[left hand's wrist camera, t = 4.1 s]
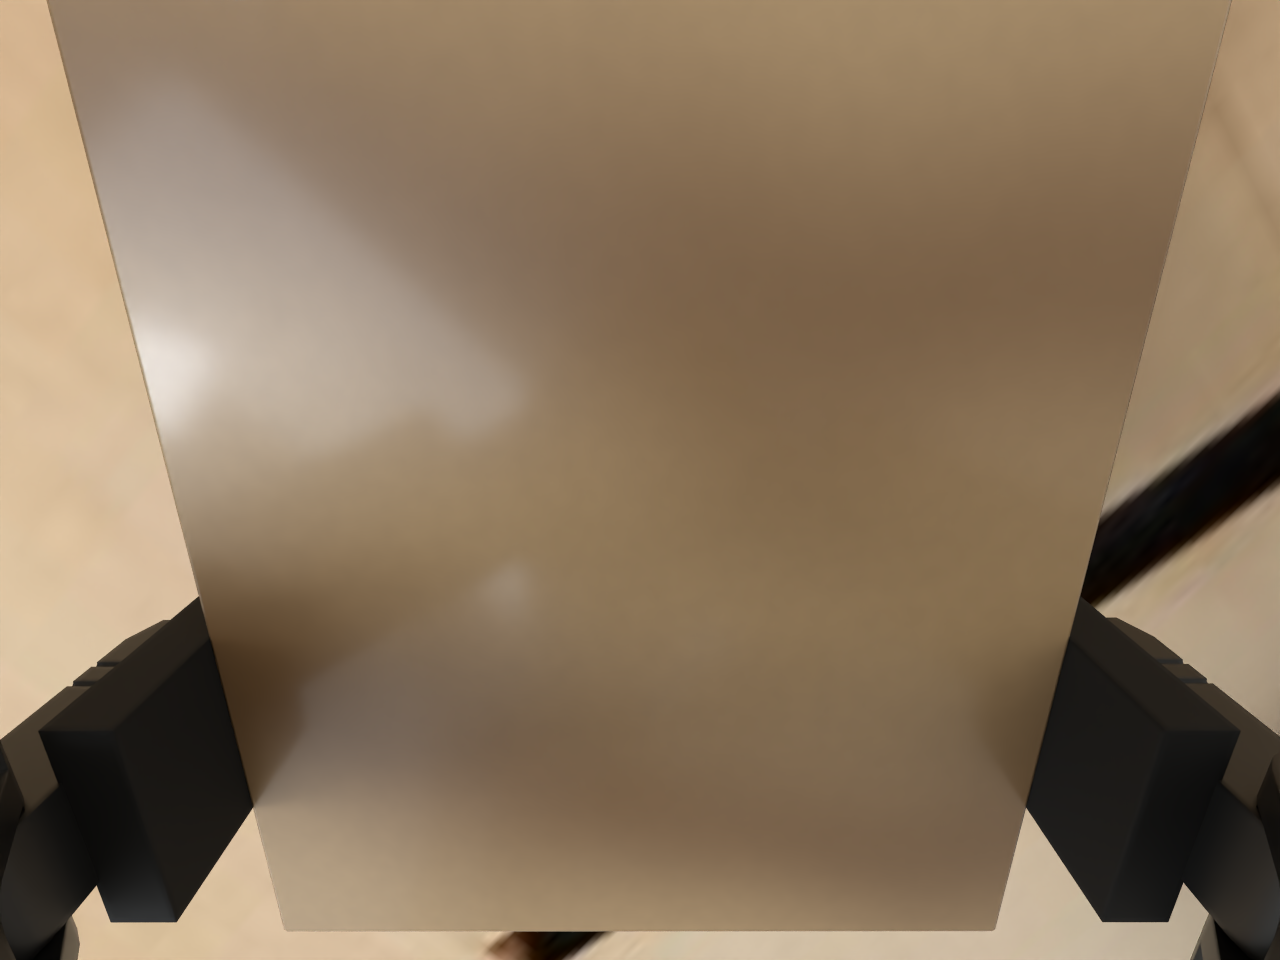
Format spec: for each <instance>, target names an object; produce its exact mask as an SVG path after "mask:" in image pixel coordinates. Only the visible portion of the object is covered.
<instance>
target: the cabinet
mask: <svg viewBox="0 0 1280 960" xmlns="http://www.w3.org/2000/svg"><path fill="white" fill-rule="evenodd" d="M1231 1H1232V0H47V4H48V8H49V11H50V15H51V19H52V23H53V27H54V31H55V35H56V39H57V43H58V47H59V51H60V54H61V58H62V62H63V66H64V70H65V74H66V78H67V82H68V86H69V90H70V94H71V97H72V101H73V105H74V109H75V113H76V117H77V121H78V125H79V129H80V133H81V137H82V140H83V144H84V148H85V152H86V156H87V160H88V164H89V168H90V172H91V176H92V180H93V183H94V187H95V191H96V195H97V199H98V203H99V207H100V211H101V215H102V219H103V223H104V226H105V230H106V234H107V238H108V242H109V246H110V250H111V254H112V258H113V262H114V266H115V270H116V273H117V277H118V281H119V285H120V289H121V293H122V297H123V301H124V305H125V309H126V313H127V316H128V320H129V324H130V328H131V332H132V336H133V340H134V344H135V348H136V352H137V356H138V359H139V363H140V367H141V371H142V375H143V379H144V383H145V387H146V391H147V395H148V399H149V402H150V406H151V410H152V414H153V418H154V422H155V426H156V430H157V434H158V438H159V442H160V445H161V449H162V453H163V457H164V461H165V465H166V469H167V473H168V477H169V481H170V485H171V488H172V492H173V496H174V500H175V504H176V508H177V512H178V516H179V520H180V524H181V528H182V531H183V535H184V539H185V543H186V547H187V551H188V555H189V559H190V563H191V567H192V571H193V574H194V578H195V582H196V586H197V590H198V594H199V598H200V602H201V606H202V610H203V614H204V617H205V621H206V625H207V629H208V633H209V637H210V641H211V645H212V649H213V653H214V657H215V660H216V664H217V668H218V672H219V676H220V680H221V684H222V688H223V692H224V696H225V700H226V704H227V707H228V711H229V715H230V719H231V723H232V727H233V731H234V735H235V739H236V743H237V747H238V750H239V754H240V758H241V762H242V766H243V770H244V774H245V778H246V782H247V786H248V790H249V793H250V797H251V801H252V805H253V809H254V813H255V817H256V821H257V825H258V829H259V833H260V836H261V840H262V844H263V848H264V852H265V856H266V860H267V864H268V868H269V872H270V876H271V879H272V883H273V887H274V891H275V895H276V899H277V903H278V907H279V911H280V915H281V919H282V922H283V926H284V930H286V931H993V930H994V929H995V927H996V923H997V919H998V915H999V911H1000V907H1001V903H1002V899H1003V896H1004V892H1005V888H1006V884H1007V880H1008V876H1009V872H1010V868H1011V864H1012V860H1013V856H1014V852H1015V848H1016V845H1017V841H1018V837H1019V833H1020V829H1021V825H1022V821H1023V817H1024V813H1025V809H1026V805H1027V801H1028V797H1029V794H1030V790H1031V786H1032V782H1033V778H1034V774H1035V770H1036V766H1037V762H1038V758H1039V754H1040V750H1041V746H1042V743H1043V739H1044V735H1045V731H1046V727H1047V723H1048V719H1049V715H1050V711H1051V707H1052V703H1053V699H1054V696H1055V692H1056V688H1057V684H1058V680H1059V676H1060V672H1061V668H1062V664H1063V660H1064V656H1065V652H1066V648H1067V645H1068V641H1069V637H1070V633H1071V629H1072V625H1073V621H1074V617H1075V613H1076V609H1077V605H1078V601H1079V597H1080V594H1081V590H1082V586H1083V582H1084V578H1085V574H1086V570H1087V566H1088V562H1089V558H1090V554H1091V550H1092V546H1093V543H1094V539H1095V535H1096V531H1097V527H1098V523H1099V519H1100V515H1101V511H1102V507H1103V503H1104V499H1105V495H1106V492H1107V488H1108V484H1109V480H1110V476H1111V472H1112V468H1113V464H1114V460H1115V456H1116V452H1117V448H1118V444H1119V441H1120V437H1121V433H1122V429H1123V425H1124V421H1125V417H1126V413H1127V409H1128V405H1129V401H1130V397H1131V394H1132V390H1133V386H1134V382H1135V378H1136V374H1137V370H1138V366H1139V362H1140V358H1141V354H1142V350H1143V346H1144V343H1145V339H1146V335H1147V331H1148V327H1149V323H1150V319H1151V315H1152V311H1153V307H1154V303H1155V299H1156V295H1157V292H1158V288H1159V284H1160V280H1161V276H1162V272H1163V268H1164V264H1165V260H1166V256H1167V252H1168V248H1169V244H1170V241H1171V237H1172V233H1173V229H1174V225H1175V221H1176V217H1177V213H1178V209H1179V205H1180V201H1181V197H1182V193H1183V190H1184V186H1185V182H1186V178H1187V174H1188V170H1189V166H1190V162H1191V158H1192V154H1193V150H1194V146H1195V142H1196V139H1197V135H1198V131H1199V127H1200V123H1201V119H1202V115H1203V111H1204V107H1205V103H1206V99H1207V95H1208V91H1209V88H1210V84H1211V80H1212V76H1213V72H1214V68H1215V64H1216V60H1217V56H1218V52H1219V48H1220V44H1221V41H1222V37H1223V33H1224V29H1225V25H1226V21H1227V17H1228V13H1229V9H1230V5H1231Z"/></svg>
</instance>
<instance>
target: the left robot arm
mask: <svg viewBox="0 0 1280 960" xmlns="http://www.w3.org/2000/svg"><path fill="white" fill-rule="evenodd" d="M252 808H253V805H252V801H251V797H250V793H249V790H248V786H247V782H246V778H245V774H244V770H243V766H242V762H241V758H240V754H239V750H238V747H237V743H236V739H235V735H234V731H233V727H232V723H231V719H230V715H229V711H228V707H227V704H226V700H225V696H224V692H223V688H222V684H221V680H220V676H219V672H218V668H217V664H216V660H215V657H214V653H213V649H212V645H211V641H210V637H209V633H208V629H207V625H206V621H205V617H204V614H203V610H202V606H201V602H200V598H199V597H197V598H196V599H195V600H194V601H193V602H191V603H190V604H189V605H188V606H187V607H185V608H184V609H183V610H182V611H181V612H179V613H178V614H177V615H176V616H175V617H173V618H172V619H171V620H163V621H161V622H159V623H157V624H155V625H153V626H151V627H149V628H147V629H145V630H143V631H141V632H139V633H137V634H135V635H133V636H131V637H129V638H128V639H126V640H124V641H123V642H122V643H121V644H119V645H118V646H117V647H116V648H114V649H113V650H112V651H111V652H109V653H108V654H107V655H106V656H104V657H103V658H102V659H101V660H99V661H98V662H97V666H96V667H91V668H89V669H88V670H87V671H86V672H84V673H83V674H82V675H81V676H79V677H78V678H77V679H76V680H74V681H73V686H67V687H66V688H64V689H63V690H62V691H61V692H59V693H58V694H57V695H56V696H54V697H53V698H52V699H51V700H49V701H48V702H47V703H46V704H44V705H43V706H42V707H41V708H39V709H38V710H37V711H36V712H34V713H33V714H32V715H31V716H29V717H28V718H27V719H26V720H25V721H23V722H22V723H21V724H20V725H18V726H17V727H16V728H15V729H13V730H12V731H11V732H10V733H8V734H7V735H6V736H5V737H3V738H2V739H1V740H0V960H77V959H78V953H79V946H80V942H79V937H78V931H77V927H76V925H75V922H74V920H73V917H72V914H73V913H74V912H75V911H76V910H77V908H78V907H79V906H80V905H81V904H82V902H83V901H84V900H85V899H86V897H87V896H88V895H89V894H90V893H91V891H92V890H93V889H94V888H95V887H96V885H97V887H98V890H99V893H100V895H101V898H102V900H103V903H104V906H105V908H106V911H107V914H108V916H109V919H110V921H111V922H177V921H178V919H179V918H180V916H181V915H182V913H183V912H184V910H185V909H186V907H187V906H188V904H189V903H190V901H191V900H192V898H193V897H194V895H195V894H196V892H197V891H198V889H199V888H200V886H201V885H202V883H203V882H204V880H205V879H206V877H207V876H208V874H209V873H210V871H211V870H212V868H213V867H214V865H215V864H216V862H217V861H218V859H219V858H220V856H221V855H222V853H223V852H224V850H225V849H226V847H227V846H228V844H229V843H230V841H231V840H232V838H233V837H234V835H235V834H236V832H237V831H238V829H239V828H240V826H241V825H242V823H243V822H244V820H245V819H246V817H247V816H248V814H249V813H250V811H251V810H252ZM1026 808H1027V809H1028V811H1029V812H1030V814H1031V815H1032V817H1033V818H1034V820H1035V821H1036V823H1037V824H1038V826H1039V827H1040V829H1041V830H1042V832H1043V833H1044V835H1045V836H1046V838H1047V839H1048V841H1049V842H1050V844H1051V845H1052V847H1053V848H1054V850H1055V851H1056V853H1057V854H1058V856H1059V857H1060V859H1061V860H1062V862H1063V863H1064V865H1065V866H1066V868H1067V869H1068V871H1069V872H1070V874H1071V875H1072V877H1073V878H1074V880H1075V881H1076V883H1077V884H1078V886H1079V887H1080V889H1081V890H1082V892H1083V893H1084V895H1085V896H1086V898H1087V899H1088V901H1089V902H1090V904H1091V905H1092V907H1093V908H1094V910H1095V911H1096V913H1097V914H1098V916H1099V917H1100V919H1101V920H1102V922H1168V921H1169V919H1170V916H1171V914H1172V911H1173V908H1174V906H1175V903H1176V900H1177V898H1178V895H1179V893H1180V890H1181V887H1182V885H1183V882H1184V884H1185V885H1186V886H1187V887H1188V888H1189V890H1190V891H1191V892H1192V893H1193V894H1194V896H1195V897H1196V898H1197V899H1198V900H1199V902H1200V903H1201V904H1202V905H1203V907H1204V908H1205V909H1206V910H1207V911H1208V913H1209V915H1208V917H1207V920H1206V922H1205V925H1204V927H1203V930H1202V932H1201V935H1200V937H1199V940H1198V942H1197V944H1196V947H1195V949H1194V952H1193V954H1192V957H1191V959H1190V960H1280V737H1279V736H1278V735H1277V734H1276V733H1274V732H1273V731H1272V730H1271V729H1269V728H1268V727H1267V726H1266V725H1264V724H1263V723H1262V722H1261V721H1259V720H1258V719H1257V718H1256V717H1254V716H1253V715H1252V714H1250V713H1249V712H1248V711H1247V710H1245V709H1244V708H1243V707H1242V706H1240V705H1239V704H1238V703H1237V702H1235V701H1234V700H1233V699H1232V698H1230V697H1229V696H1228V695H1227V694H1225V693H1224V692H1223V691H1222V690H1220V689H1219V688H1218V687H1217V686H1215V685H1214V684H1208V683H1207V679H1206V678H1205V677H1204V676H1203V675H1201V674H1200V673H1199V672H1198V671H1196V670H1195V669H1194V668H1193V667H1191V666H1190V665H1189V664H1183V659H1181V658H1180V657H1179V656H1178V655H1176V654H1175V653H1174V652H1173V651H1171V650H1170V649H1169V648H1168V647H1166V646H1165V645H1164V644H1163V643H1161V642H1160V641H1159V640H1157V639H1156V638H1155V637H1153V636H1151V635H1149V634H1148V633H1146V632H1144V631H1142V630H1140V629H1138V628H1136V627H1134V626H1132V625H1130V624H1128V623H1126V622H1124V621H1122V620H1120V619H1118V618H1106V617H1105V616H1103V615H1102V614H1101V613H1100V612H1099V611H1097V610H1096V609H1095V608H1094V607H1093V606H1091V605H1090V604H1089V603H1088V602H1087V601H1085V600H1084V599H1083V598H1082V597H1081V596H1080V597H1079V601H1078V605H1077V609H1076V613H1075V617H1074V621H1073V625H1072V629H1071V633H1070V637H1069V641H1068V645H1067V648H1066V652H1065V656H1064V660H1063V664H1062V668H1061V672H1060V676H1059V680H1058V684H1057V688H1056V692H1055V696H1054V699H1053V703H1052V707H1051V711H1050V715H1049V719H1048V723H1047V727H1046V731H1045V735H1044V739H1043V743H1042V746H1041V750H1040V754H1039V758H1038V762H1037V766H1036V770H1035V774H1034V778H1033V782H1032V786H1031V790H1030V794H1029V797H1028V801H1027V805H1026Z"/></svg>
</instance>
